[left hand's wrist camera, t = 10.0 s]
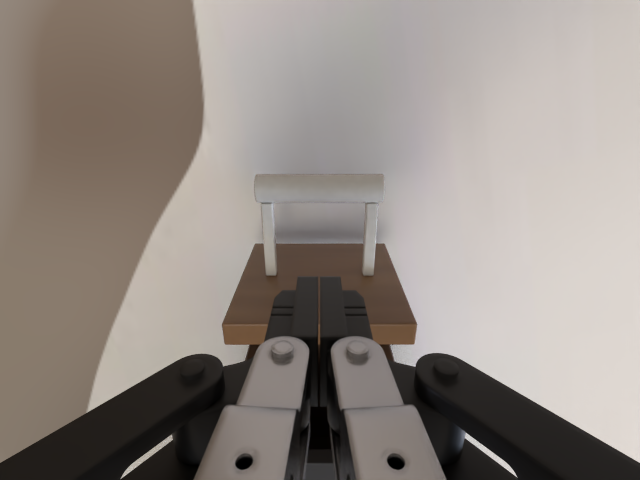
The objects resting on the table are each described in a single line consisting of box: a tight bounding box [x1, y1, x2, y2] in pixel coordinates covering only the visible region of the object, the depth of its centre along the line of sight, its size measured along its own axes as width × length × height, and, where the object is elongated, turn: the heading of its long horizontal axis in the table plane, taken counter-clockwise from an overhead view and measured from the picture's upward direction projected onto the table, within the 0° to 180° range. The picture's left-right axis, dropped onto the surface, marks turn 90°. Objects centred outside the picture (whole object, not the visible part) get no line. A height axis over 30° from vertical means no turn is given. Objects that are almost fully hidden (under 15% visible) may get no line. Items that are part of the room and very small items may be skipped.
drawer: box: [222, 174, 417, 449], centre depth 23 cm, size 24×9×9 cm, turn 0°
